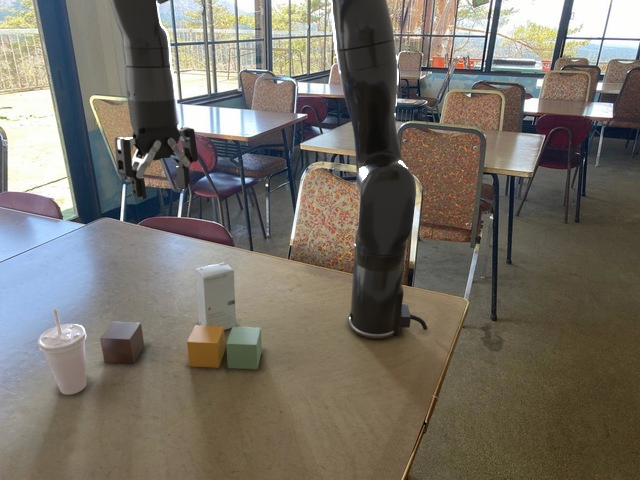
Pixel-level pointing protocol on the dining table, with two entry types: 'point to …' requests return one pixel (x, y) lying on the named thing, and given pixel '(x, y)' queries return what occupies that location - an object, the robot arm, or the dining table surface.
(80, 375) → the smoothie
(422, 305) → the dining table surface
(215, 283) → the cosmetic box
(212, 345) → the block ochre
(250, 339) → the block sage
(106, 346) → the block walnut
